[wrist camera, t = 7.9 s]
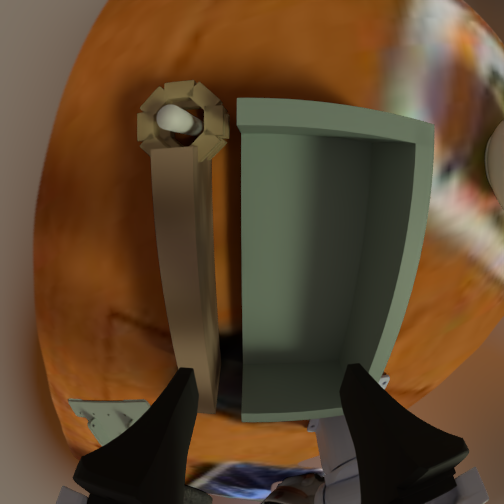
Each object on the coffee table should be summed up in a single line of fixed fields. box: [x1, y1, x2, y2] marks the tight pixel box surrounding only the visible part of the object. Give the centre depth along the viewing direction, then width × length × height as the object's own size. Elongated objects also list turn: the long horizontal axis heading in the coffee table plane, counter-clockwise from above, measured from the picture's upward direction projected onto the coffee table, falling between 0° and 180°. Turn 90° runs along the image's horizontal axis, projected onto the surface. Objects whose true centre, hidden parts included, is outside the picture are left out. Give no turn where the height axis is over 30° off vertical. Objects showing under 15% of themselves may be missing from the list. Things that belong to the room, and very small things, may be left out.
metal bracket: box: [68, 399, 151, 446], centre depth 28 cm, size 14×6×15 cm
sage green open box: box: [157, 98, 434, 422], centre depth 16 cm, size 20×13×6 cm, turn 0°
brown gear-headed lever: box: [137, 80, 229, 414], centre depth 16 cm, size 22×4×6 cm, turn 179°
